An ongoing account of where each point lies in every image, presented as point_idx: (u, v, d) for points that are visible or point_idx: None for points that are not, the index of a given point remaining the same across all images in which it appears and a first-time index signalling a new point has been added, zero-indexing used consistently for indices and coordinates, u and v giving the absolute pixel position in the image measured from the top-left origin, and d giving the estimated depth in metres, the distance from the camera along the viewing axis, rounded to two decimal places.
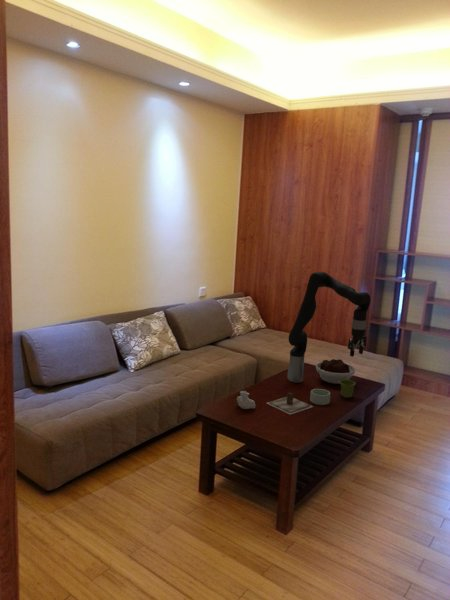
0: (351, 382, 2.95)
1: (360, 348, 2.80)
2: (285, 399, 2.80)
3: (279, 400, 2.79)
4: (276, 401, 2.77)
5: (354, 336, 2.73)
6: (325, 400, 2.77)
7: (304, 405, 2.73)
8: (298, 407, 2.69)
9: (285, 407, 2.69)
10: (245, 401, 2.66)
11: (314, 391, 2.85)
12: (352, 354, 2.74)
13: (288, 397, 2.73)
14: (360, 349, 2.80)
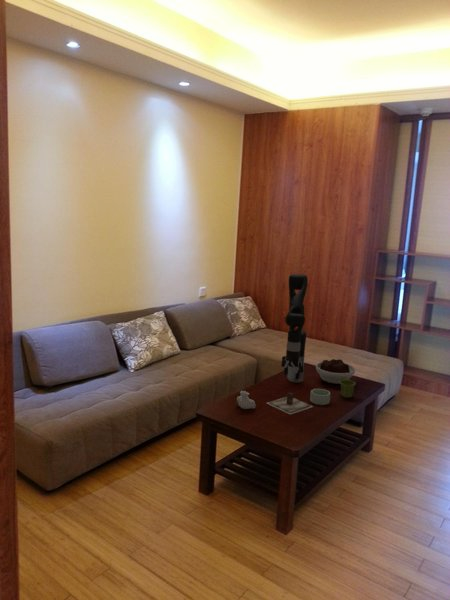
0: (351, 382, 2.95)
1: (286, 369, 2.74)
2: (285, 399, 2.80)
3: (279, 400, 2.79)
4: (276, 401, 2.77)
5: (297, 358, 2.67)
6: (325, 400, 2.77)
7: (304, 405, 2.73)
8: (298, 407, 2.69)
9: (285, 407, 2.69)
10: (245, 401, 2.66)
11: (314, 391, 2.85)
12: None
13: (288, 397, 2.73)
14: (286, 370, 2.74)
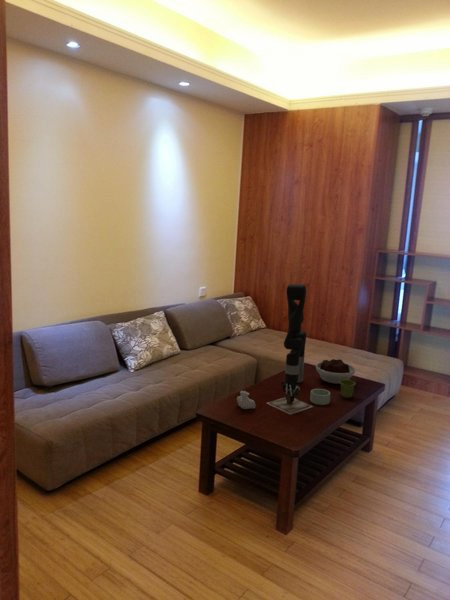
0: (351, 382, 2.95)
1: None
2: (285, 399, 2.81)
3: (279, 400, 2.79)
4: (276, 401, 2.77)
5: (296, 381, 2.70)
6: (325, 400, 2.77)
7: (304, 405, 2.73)
8: (298, 407, 2.69)
9: (285, 407, 2.69)
10: (245, 401, 2.66)
11: (314, 391, 2.85)
12: (293, 399, 2.73)
13: (288, 397, 2.73)
14: None
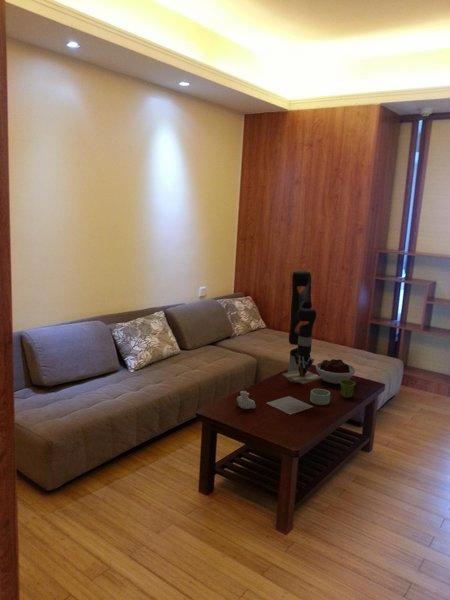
0: (351, 382, 2.95)
1: None
2: (298, 371, 2.81)
3: (292, 372, 2.79)
4: (289, 373, 2.77)
5: (309, 353, 2.70)
6: (325, 400, 2.77)
7: (317, 377, 2.73)
8: (310, 379, 2.69)
9: (298, 379, 2.69)
10: (245, 401, 2.66)
11: (314, 391, 2.85)
12: None
13: (301, 369, 2.74)
14: None
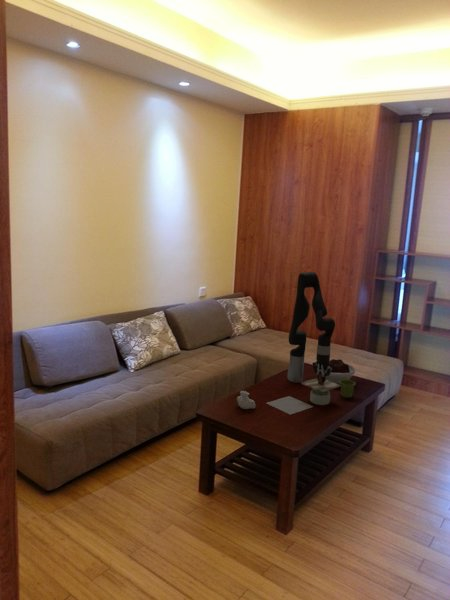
0: (351, 382, 2.95)
1: None
2: (316, 380, 2.86)
3: (310, 381, 2.84)
4: (307, 382, 2.82)
5: (328, 362, 2.75)
6: (325, 400, 2.77)
7: (335, 385, 2.78)
8: (330, 387, 2.75)
9: (317, 387, 2.74)
10: (245, 401, 2.66)
11: (314, 391, 2.85)
12: None
13: (319, 377, 2.79)
14: None
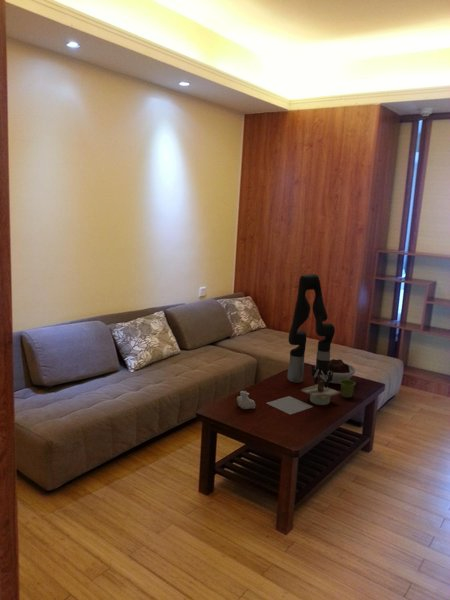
0: (351, 382, 2.95)
1: (316, 378, 2.82)
2: (315, 387, 2.87)
3: (310, 388, 2.85)
4: (307, 389, 2.83)
5: (327, 367, 2.76)
6: (325, 400, 2.77)
7: (335, 392, 2.79)
8: (329, 394, 2.75)
9: (317, 394, 2.75)
10: (245, 401, 2.66)
11: None
12: (327, 385, 2.78)
13: (319, 384, 2.80)
14: (316, 379, 2.83)
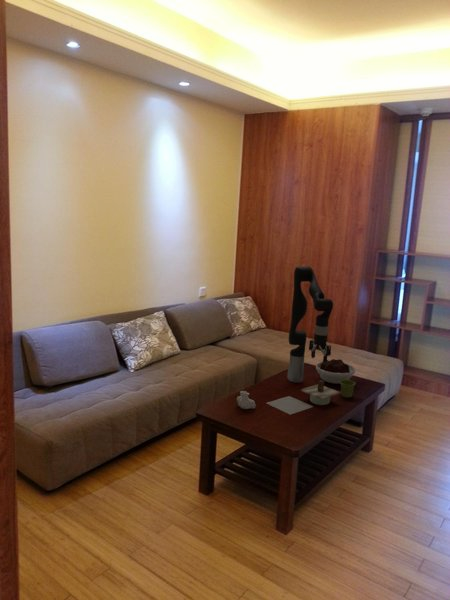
0: (351, 382, 2.95)
1: (313, 352, 2.84)
2: (315, 387, 2.87)
3: (310, 388, 2.85)
4: (307, 389, 2.83)
5: (325, 342, 2.77)
6: (325, 400, 2.77)
7: (335, 392, 2.79)
8: (329, 394, 2.75)
9: (317, 394, 2.75)
10: (245, 401, 2.66)
11: None
12: (326, 359, 2.78)
13: (319, 384, 2.80)
14: (313, 353, 2.84)
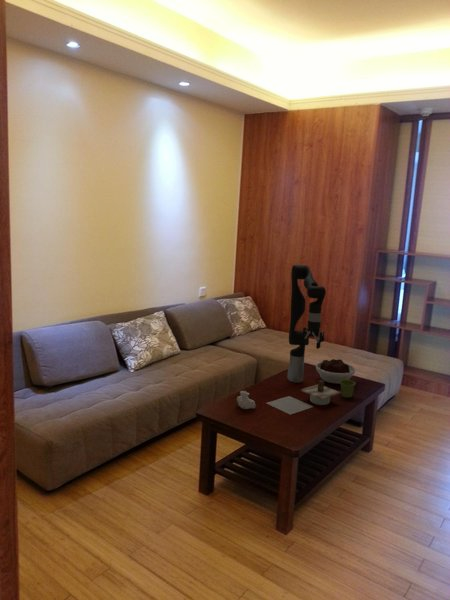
0: (351, 382, 2.95)
1: (307, 340, 2.89)
2: (315, 387, 2.87)
3: (310, 388, 2.85)
4: (307, 389, 2.83)
5: (318, 329, 2.82)
6: (325, 400, 2.77)
7: (335, 392, 2.79)
8: (329, 394, 2.75)
9: (317, 394, 2.75)
10: (245, 401, 2.66)
11: None
12: (319, 346, 2.84)
13: (319, 384, 2.80)
14: (307, 340, 2.90)
